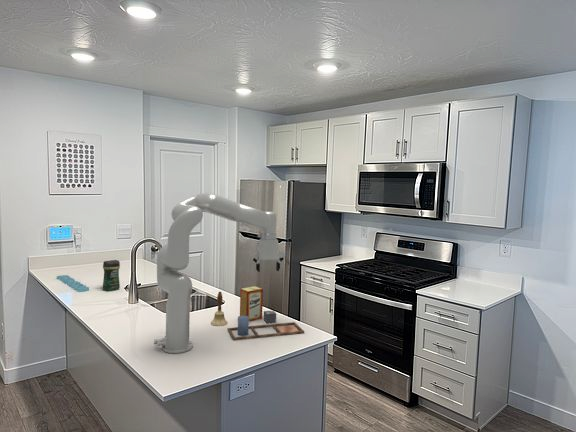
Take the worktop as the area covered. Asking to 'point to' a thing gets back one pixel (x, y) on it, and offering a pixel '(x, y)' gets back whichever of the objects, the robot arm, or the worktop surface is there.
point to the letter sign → (73, 283)
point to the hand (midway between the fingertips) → (268, 270)
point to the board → (280, 332)
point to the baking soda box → (251, 302)
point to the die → (269, 317)
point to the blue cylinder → (243, 325)
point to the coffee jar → (111, 275)
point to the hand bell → (219, 314)
